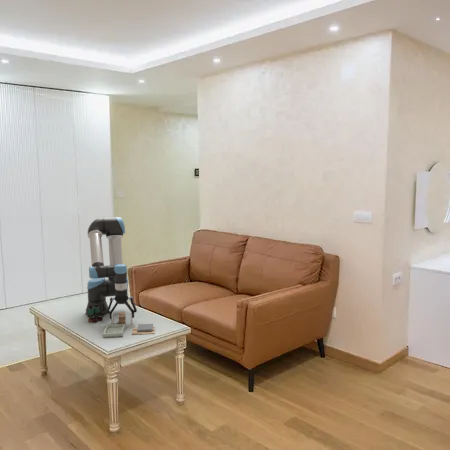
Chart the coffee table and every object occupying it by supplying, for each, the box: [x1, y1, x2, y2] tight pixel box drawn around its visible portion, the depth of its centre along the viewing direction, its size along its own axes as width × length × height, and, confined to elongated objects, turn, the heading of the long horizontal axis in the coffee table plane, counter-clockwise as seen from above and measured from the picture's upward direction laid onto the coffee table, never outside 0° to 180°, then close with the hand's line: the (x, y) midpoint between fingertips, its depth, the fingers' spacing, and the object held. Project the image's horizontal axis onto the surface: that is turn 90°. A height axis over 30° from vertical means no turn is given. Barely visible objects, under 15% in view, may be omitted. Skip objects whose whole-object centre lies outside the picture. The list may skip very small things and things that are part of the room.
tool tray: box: [102, 323, 126, 339], centre depth 261 cm, size 16×11×2 cm
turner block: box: [117, 311, 127, 325], centre depth 275 cm, size 10×4×6 cm, turn 12°
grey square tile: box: [136, 323, 154, 332], centre depth 265 cm, size 1×9×10 cm
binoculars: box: [87, 303, 105, 323], centre depth 281 cm, size 9×11×10 cm
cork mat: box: [131, 326, 156, 336], centre depth 263 cm, size 11×13×1 cm
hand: (122, 323), depth 276 cm, fingers open, 11 cm apart
